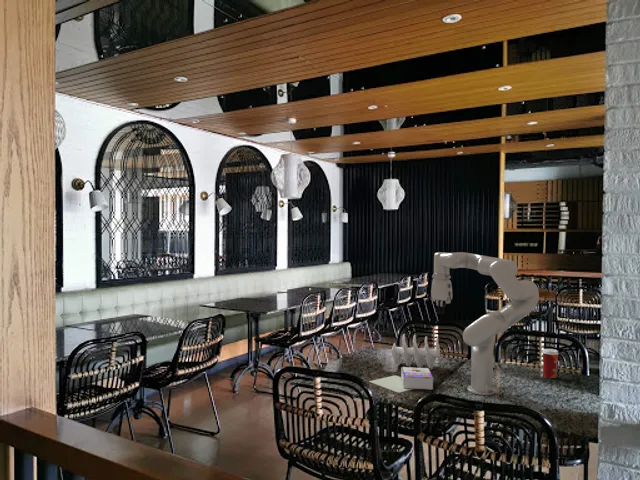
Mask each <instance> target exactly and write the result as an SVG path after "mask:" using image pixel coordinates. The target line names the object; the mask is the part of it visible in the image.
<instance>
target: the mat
mask: <svg viewBox="0 0 640 480" xmlns="http://www.w3.org/2000/svg"><path fill="white" fill-rule="evenodd" d="M368 383H371V384H374V385H376V386H378V387H382V388H383V389H387V390H389V391H392V392H395V393H397V394H401V393H405V392H408V391H412V390H413V389H408V388H403V383H402V379H401V376H398V375H391V376H385V377H381V378H377V379H375V380H374V379H373V380H369V381H368Z"/></svg>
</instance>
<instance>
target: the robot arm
mask: <svg viewBox="0 0 640 480" xmlns="http://www.w3.org/2000/svg"><path fill="white" fill-rule="evenodd" d="M433 255H434V256H433V279H432V281H431V289H430V296H431V301H432V302H434V303H435V304H436V306H437V315H439V316H440V315H444V314H445V307H446V305H447V304H451V302H452V300H453V286H452V281H451V280H450V279H451V277H452V276H451V275H450V269H459V268H465V269H469V270H470V269H471V270H475V271H477V272H478V273H479V274H481V275H484V276H490V277H491V278H492V279H493V281H494V282H495V283H496V284H497V286H498V287H499V288H500V290H502V292H503V294H504V295H505V296H506V297H507V298H508V299H509V300H511V301H510V302H509V303H507V304H506V305H504V306H502V307H501V308H500V309H499V310H495V311H491V312H487V313H486V314H484V315H481V316H480V317H479V318H478V319H476V320H475V321H473V322H472V323H471V324H469V325H468V326H466V327H465V329H464V330H463V332H462V339H463V341H464V342H463V343H465V344H466V345H468V346H469V347H471V357H470V361H471V362H470V363H471V364H470V385H468V386H467V391H468V392H470V393H472V394H475V395H479V396H492V395H496V394H499V392H500V387H498V386H495V385H496V383H495V382H494V381H493V380H494V379H493V376H494V375H493V374H494V373H493V371H494V369H493V368H494V348H495V347H494V346H495V341H496V335H498V334H500V333H504V332H505V331H506V332H507V330H508V329H510V328H511V327H512V326H514V325H516V324H517V323H518V322H520V321H521V320H522V319H523V318H525V317H526V316H528V315H529V314H530V313H531V312H532V311H533V310H534V309H535V308H536V307H537V304H538V302H539V298H540V292H539V288H538V286H537V285H536V283H534V281H532V280H528V279H522V280H519V279H518V277H516V276H517V274H518V265H517V264H516V263H515V261H513V260H510V259H506V258H500V257H493V256H487V255H480V254H476V253H472V252H471V253H469V252H464V251H463V252H461V251H460V252H459V251H458V252H444V251H443V252H441V251H438V252H435V253H434V254H433Z"/></svg>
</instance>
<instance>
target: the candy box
mask: <svg viewBox="0 0 640 480" xmlns="http://www.w3.org/2000/svg"><path fill="white" fill-rule="evenodd" d="M400 368H401V369H400V375H401V376H400V377H401V379H402V383H403V388H408V389H412V390H430V391H431V390H434V376H433V374H432V372H431V369H430V368H429V367H421V368H420V367H412V366H410V367H409V366H401V367H400Z"/></svg>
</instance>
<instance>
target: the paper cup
mask: <svg viewBox="0 0 640 480" xmlns="http://www.w3.org/2000/svg"><path fill="white" fill-rule="evenodd" d="M541 353H542V362H543V363H542V366H543V377H544V378H545V379H548V378H556V379H557V370H558V361H559V360H558V359H559V350H557V349H554V348H543V349H542V351H541Z"/></svg>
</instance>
